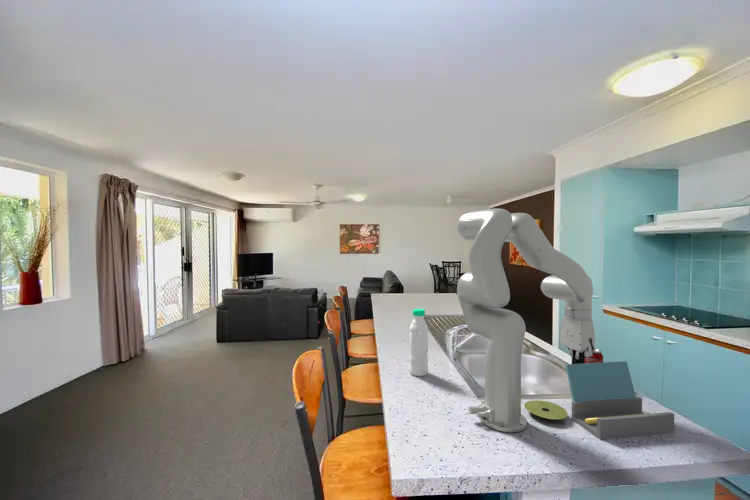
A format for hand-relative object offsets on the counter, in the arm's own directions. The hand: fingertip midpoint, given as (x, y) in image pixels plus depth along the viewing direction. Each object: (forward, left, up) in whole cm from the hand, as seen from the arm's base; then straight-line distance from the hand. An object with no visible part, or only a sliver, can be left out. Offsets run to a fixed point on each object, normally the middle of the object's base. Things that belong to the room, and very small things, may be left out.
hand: (577, 369), depth 106 cm
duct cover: (0, -9, 0) cm, 9 cm away
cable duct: (0, -16, -9) cm, 19 cm away
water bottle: (-45, +28, -10) cm, 54 cm away
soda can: (+15, +11, -10) cm, 21 cm away
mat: (-17, -8, -10) cm, 21 cm away
